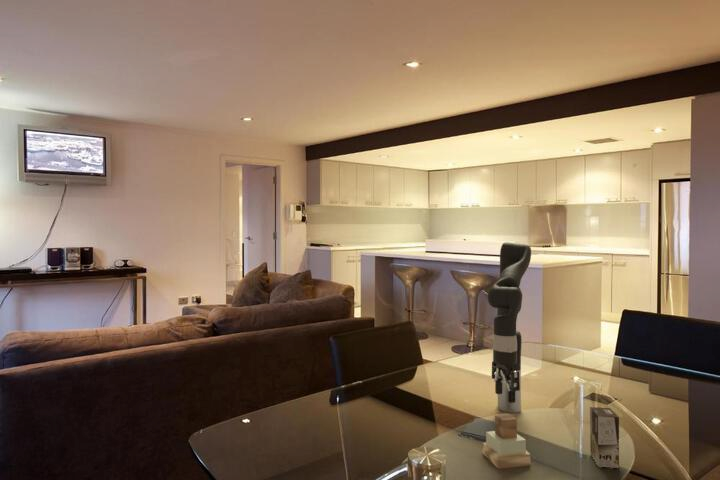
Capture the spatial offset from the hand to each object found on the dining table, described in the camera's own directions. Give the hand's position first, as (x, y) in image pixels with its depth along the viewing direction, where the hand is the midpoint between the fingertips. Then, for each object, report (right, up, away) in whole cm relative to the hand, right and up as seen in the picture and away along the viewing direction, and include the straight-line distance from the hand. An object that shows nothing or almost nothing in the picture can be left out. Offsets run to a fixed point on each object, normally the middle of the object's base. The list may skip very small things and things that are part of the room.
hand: (505, 398), depth 154 cm
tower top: (0, -16, 0) cm, 16 cm away
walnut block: (0, -12, 0) cm, 12 cm away
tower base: (0, -20, 0) cm, 20 cm away
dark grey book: (0, -21, +23) cm, 31 cm away
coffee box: (+31, -20, -2) cm, 37 cm away
